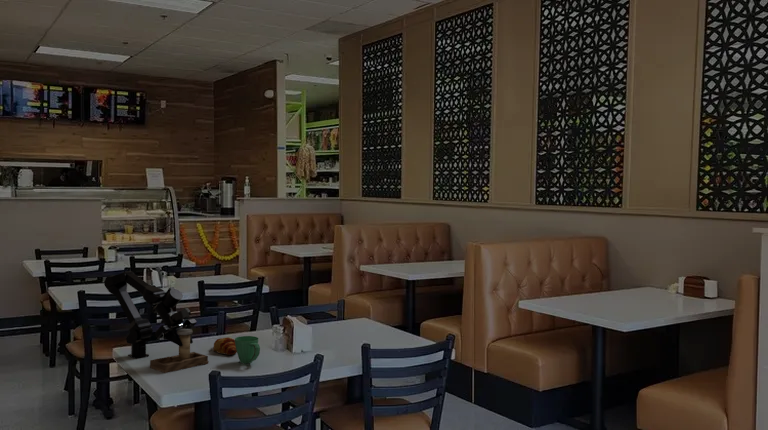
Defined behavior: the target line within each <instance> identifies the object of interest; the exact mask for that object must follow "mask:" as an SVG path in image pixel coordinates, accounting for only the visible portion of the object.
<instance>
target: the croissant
mask: <svg viewBox="0 0 768 430" xmlns="http://www.w3.org/2000/svg"><path fill="white" fill-rule="evenodd" d="M213 351H214V352H216V353H218V354H222V355H223V354H224V355H228V356H232V355H235V354H236V353H237V350H236V345H235V338H233V337H230V336H229V337H222V338H221V337H220V338H218V339H217V338H216V340H215V341H214V343H213Z"/></svg>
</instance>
